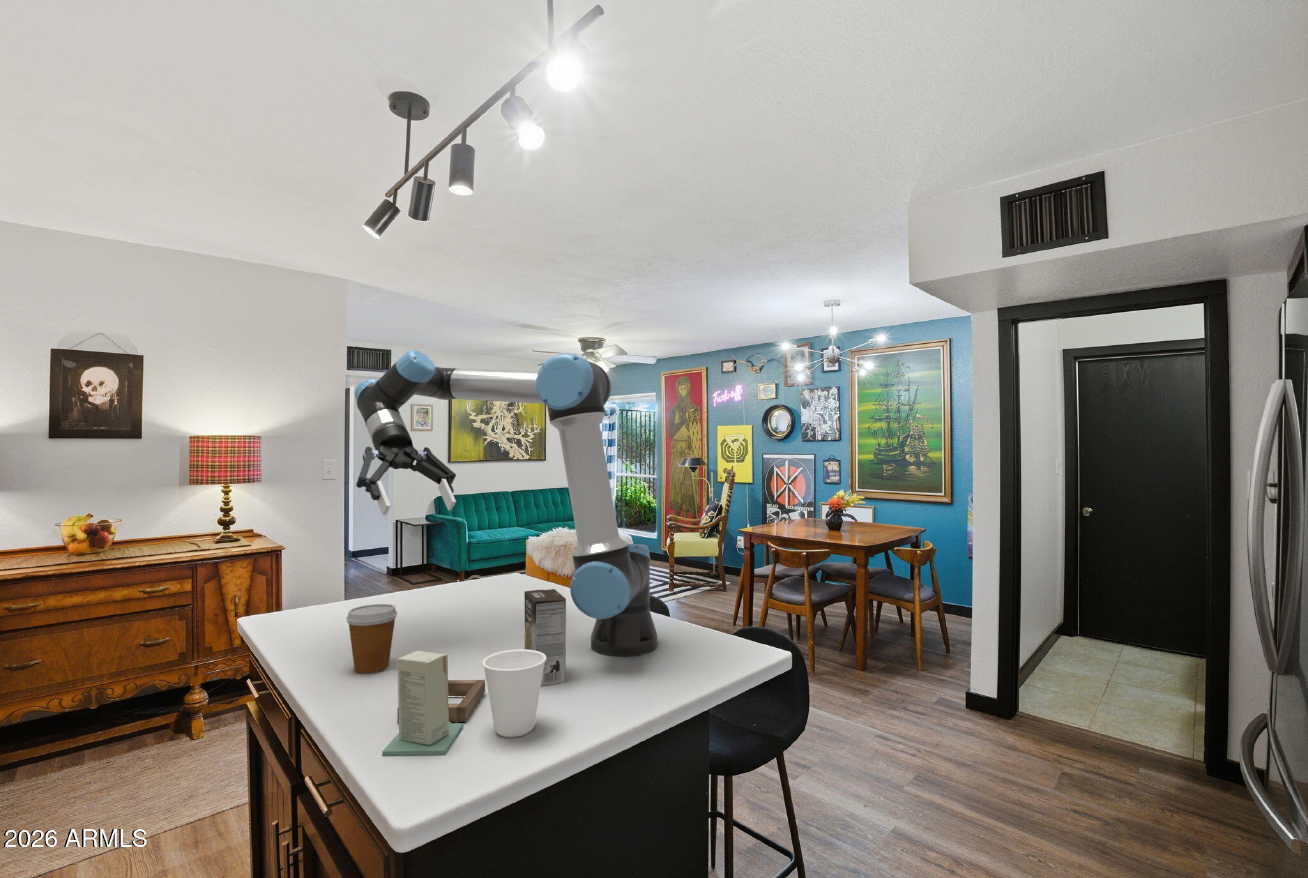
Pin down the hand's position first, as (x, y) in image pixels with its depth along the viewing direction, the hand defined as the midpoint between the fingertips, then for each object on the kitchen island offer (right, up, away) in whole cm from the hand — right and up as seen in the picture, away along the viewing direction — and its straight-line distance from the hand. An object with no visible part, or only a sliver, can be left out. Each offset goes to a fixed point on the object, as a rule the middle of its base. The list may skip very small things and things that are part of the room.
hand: (420, 508), depth 122 cm
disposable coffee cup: (-11, -33, +2) cm, 35 cm away
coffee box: (+26, -33, -4) cm, 42 cm away
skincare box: (+12, -31, -30) cm, 45 cm away
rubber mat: (+12, -32, -30) cm, 45 cm away
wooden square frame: (+11, -32, -18) cm, 38 cm away
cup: (+25, -32, -26) cm, 48 cm away
